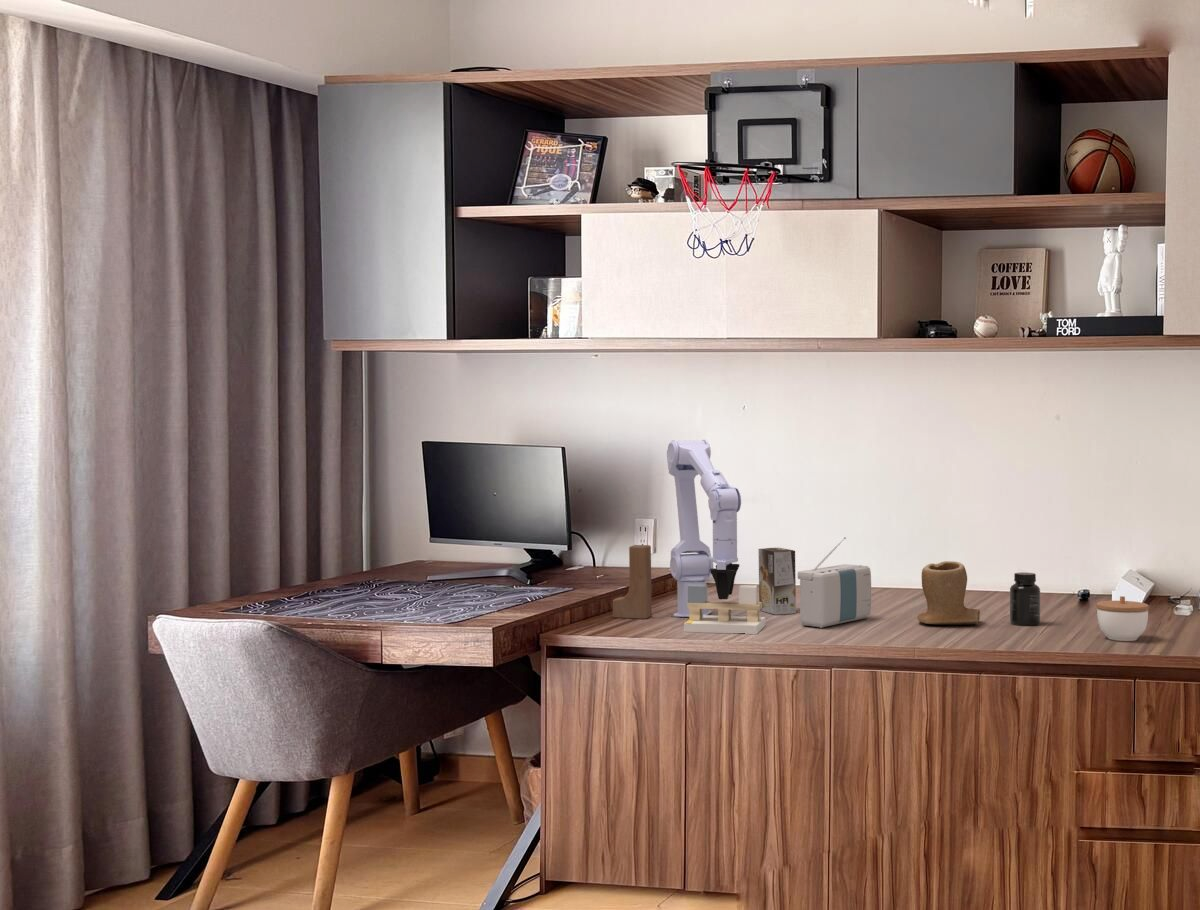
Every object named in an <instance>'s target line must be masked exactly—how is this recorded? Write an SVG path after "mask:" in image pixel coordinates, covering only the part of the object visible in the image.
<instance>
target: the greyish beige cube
mask: <svg viewBox="0 0 1200 910" xmlns="http://www.w3.org/2000/svg"><path fill="white" fill-rule="evenodd" d="M738 602H739V604H748V605H756V604H757V602H758V584H757V585H754V584H747V585H745V584H743V585H742V584H740V585H739V586H738Z"/></svg>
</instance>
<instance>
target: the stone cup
mask: <svg viewBox="0 0 1200 910" xmlns="http://www.w3.org/2000/svg"><path fill="white" fill-rule="evenodd" d="M967 586H968V573H967V570H966V567H965V565H964V564H963V563H961V562H959V561H954V560H952V561H950V560H949V561H948V560H947V561H946V560H945V561H941V562H939V563H928V564H926V565H925V566H924V567H923V568H922V569H921V588H922V591H923V594H924V597H925V599H926V605H927V606H926V607H927V610H926V611H925V612H922V613H919V614H918V615H917V616H916V619H917V621H919V622H921V623H923V624H928V625H940V626H941V625H944V626H945V625H946V626H947V625H949V626H950V625H951V626H956V625H958V626H962V625H963V626H964V625H966V626H967V625H978V624H979V622H980V614H981V610H980V608H979V609H978V608H967V607H966V606H965V595H966V591H967Z"/></svg>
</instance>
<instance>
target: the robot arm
mask: <svg viewBox="0 0 1200 910" xmlns="http://www.w3.org/2000/svg"><path fill="white" fill-rule="evenodd" d="M711 449H712V448H711V445H710V444H709V442H708V440H706V439H701V440H699V439H698V440H697V439H696V440H675V439H674V440H671V441H670V442H669V443H668V445H667V450H666V460H667V461H666V462H667V469H668V474H670V475H671V476H673V479H674V485H675V497H676V506H677V517H678V529H679V530H678V531H679V540H680V541H679V542H678V543H677V544H676V545H675V546H673V548H672V549H671V551H670V561H669V568H670V569H669V570H670V573H671V575H672V576H671V577H673V578H674V580H676V581H677V582H676V583H677V591H676V592H677V612H675V613H674V614H673V617H677V618H678V617H680V618H682V617H683V618H689V608H687V603H688V585H690V584H707V581H709V578H710V577H711V576H712V578H713V580H714V583H715V584H714V585H715V588H716V589H715V590H716V594H717V596H718V600H728V599H729V596H730V595H732V594H733V589H734V585H735V579H736V575H737V573H738V570H739V568H740V563H737V562H738V561H739V558H738V513H739V512H740V510H741V506H742V496H741V493H740V490H739V488H738V487H734V486H730V484H729V482H728V481H727V480H726V478H725V476H724V474H723V473H722V472H721V471H720V470H718V469H715V466H714V465H713V463H712V461H711V455H712V451H711ZM698 475H699V476H700V477H701V478H700V481H699V482H700V486H701V487H702V489H703V490H704V492H705V494H706V496H707V497H708V504H707V505H708V508H709V513H710V519H711V520H712V553H711V550H710V546H708V545H707V544H706V543H704V542H703V541H702V540H701V538H700V537H701V536H700V527H699V526H700V525H699V518H698V505H697V497H696V496H697V495H696V494H697V493H696V487H695V486H696V485H695V478H696V477H697V476H698ZM714 563H715V564H716V565H715V568H714ZM708 591H709V589H708V587H707V601H709V599H708V598H709V597H708V596H709V593H708ZM732 596H733V595H732ZM702 613H703V615H709V614H711V613H712V609H702Z"/></svg>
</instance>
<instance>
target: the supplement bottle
mask: <svg viewBox="0 0 1200 910" xmlns="http://www.w3.org/2000/svg"><path fill="white" fill-rule="evenodd" d="M1013 577H1014V578H1013V582H1014V583H1013V584H1012V585H1011V586H1010V588H1009V622H1010V624H1011V625H1014V626H1022V627H1035V626H1036V627H1037V626H1039V625H1040V624H1041V588H1040V586H1038V585H1037V584H1036V582H1037V578H1036V577H1037V574H1036V573H1035V572H1034V573H1033V572H1027V571H1026V572H1022V571H1021V572H1014V576H1013Z"/></svg>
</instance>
